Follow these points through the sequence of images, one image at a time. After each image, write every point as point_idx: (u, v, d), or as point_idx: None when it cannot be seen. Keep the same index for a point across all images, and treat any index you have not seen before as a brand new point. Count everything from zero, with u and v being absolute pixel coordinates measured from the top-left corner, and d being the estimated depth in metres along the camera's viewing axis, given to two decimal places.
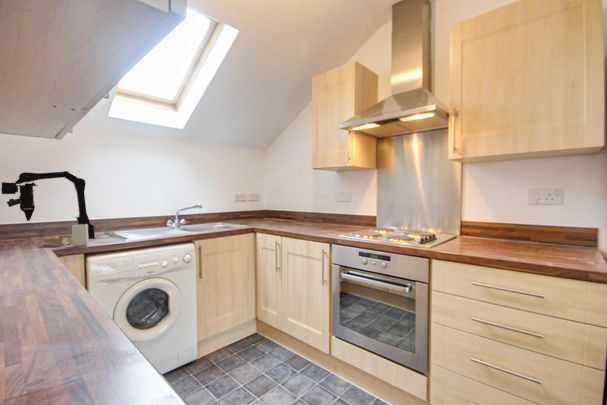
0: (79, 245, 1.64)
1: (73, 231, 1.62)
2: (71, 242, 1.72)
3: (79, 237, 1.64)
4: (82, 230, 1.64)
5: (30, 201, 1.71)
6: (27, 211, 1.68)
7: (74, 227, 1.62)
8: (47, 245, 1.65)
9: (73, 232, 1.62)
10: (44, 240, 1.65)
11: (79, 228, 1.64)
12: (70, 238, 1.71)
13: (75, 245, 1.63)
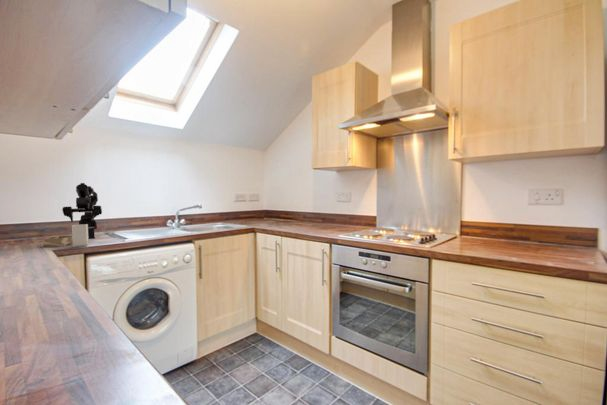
0: (79, 245, 1.64)
1: (73, 231, 1.62)
2: (71, 242, 1.72)
3: (79, 237, 1.64)
4: (82, 230, 1.64)
5: None
6: None
7: (74, 227, 1.62)
8: (47, 245, 1.65)
9: (73, 232, 1.62)
10: (44, 240, 1.65)
11: (79, 228, 1.64)
12: (70, 238, 1.71)
13: (75, 245, 1.63)
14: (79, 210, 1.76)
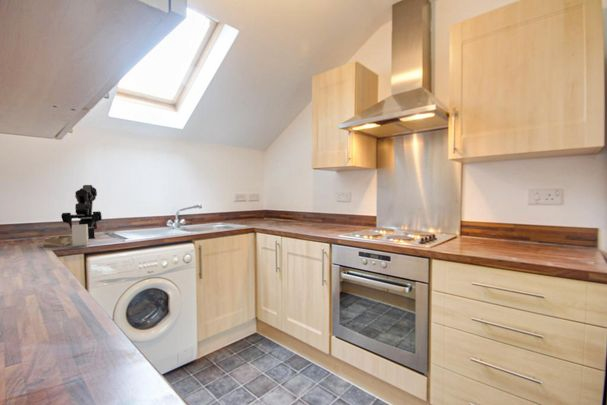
0: (79, 245, 1.64)
1: (73, 231, 1.62)
2: (71, 242, 1.72)
3: (79, 237, 1.64)
4: (82, 230, 1.64)
5: None
6: None
7: (74, 227, 1.62)
8: (47, 245, 1.65)
9: (73, 232, 1.62)
10: (44, 240, 1.65)
11: (79, 228, 1.64)
12: (70, 238, 1.71)
13: (75, 245, 1.63)
14: (78, 216, 1.73)
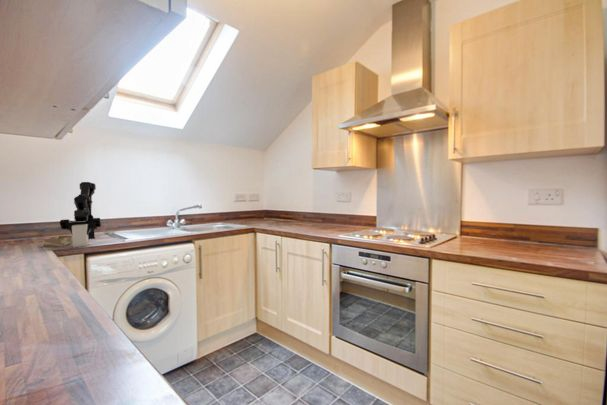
0: (79, 245, 1.64)
1: (73, 231, 1.62)
2: (71, 242, 1.72)
3: (79, 237, 1.64)
4: (82, 230, 1.64)
5: None
6: None
7: (74, 227, 1.62)
8: (47, 245, 1.65)
9: (73, 232, 1.62)
10: (44, 240, 1.65)
11: (79, 228, 1.64)
12: (70, 238, 1.71)
13: (75, 245, 1.63)
14: (80, 223, 1.69)
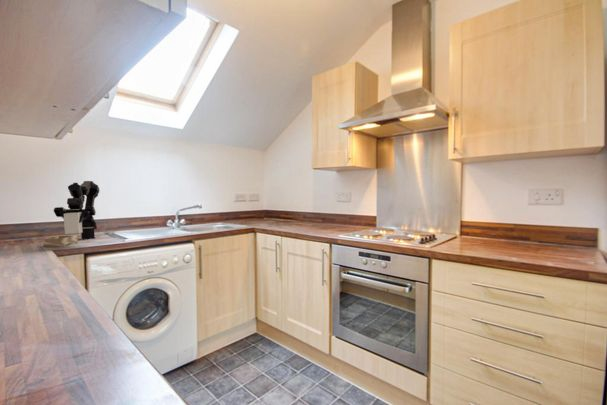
0: (71, 233, 1.64)
1: (65, 219, 1.62)
2: (71, 242, 1.72)
3: (71, 225, 1.64)
4: (74, 218, 1.64)
5: None
6: (83, 214, 1.70)
7: (66, 215, 1.62)
8: (47, 245, 1.65)
9: (65, 220, 1.62)
10: (44, 240, 1.65)
11: (71, 216, 1.63)
12: (70, 238, 1.71)
13: (67, 233, 1.63)
14: (74, 211, 1.70)
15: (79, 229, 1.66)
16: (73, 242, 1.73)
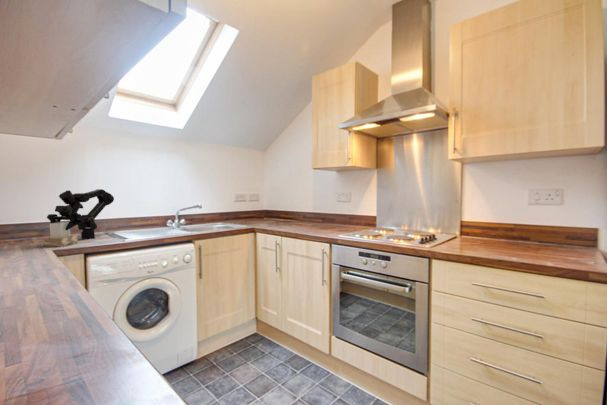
0: None
1: (50, 228, 1.67)
2: (71, 242, 1.72)
3: (55, 234, 1.67)
4: (57, 227, 1.67)
5: None
6: (72, 222, 1.73)
7: (51, 224, 1.67)
8: (47, 245, 1.65)
9: (51, 229, 1.67)
10: (44, 240, 1.65)
11: (55, 226, 1.67)
12: (70, 238, 1.71)
13: None
14: (62, 218, 1.74)
15: None
16: (73, 242, 1.73)
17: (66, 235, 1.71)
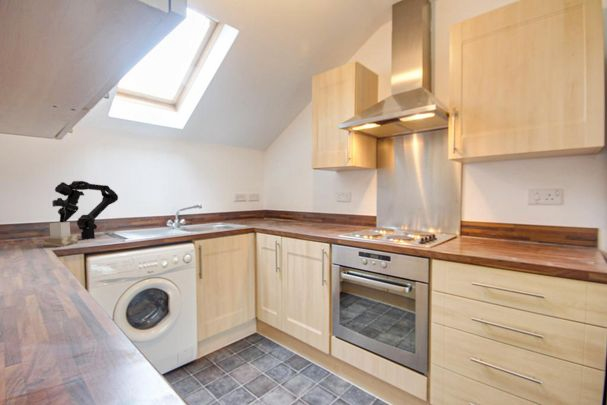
0: None
1: (50, 228, 1.67)
2: (71, 242, 1.72)
3: (55, 234, 1.67)
4: (57, 227, 1.67)
5: None
6: (68, 212, 1.75)
7: (51, 224, 1.67)
8: (47, 245, 1.65)
9: (51, 229, 1.67)
10: (44, 240, 1.65)
11: (55, 226, 1.67)
12: (70, 238, 1.71)
13: None
14: None
15: None
16: (73, 242, 1.73)
17: (66, 235, 1.71)
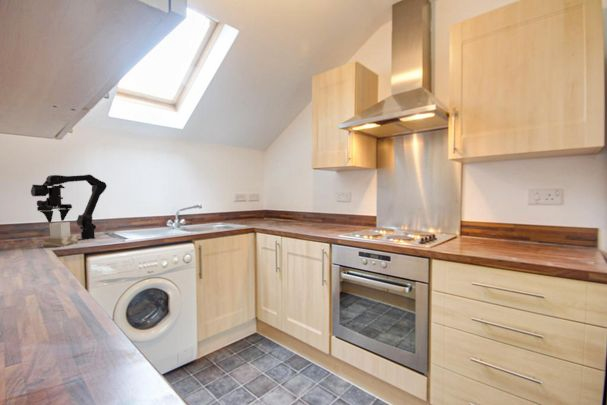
0: None
1: (50, 228, 1.67)
2: (71, 242, 1.72)
3: (55, 234, 1.67)
4: (57, 227, 1.67)
5: (54, 203, 1.74)
6: (47, 213, 1.71)
7: (51, 224, 1.67)
8: (47, 245, 1.65)
9: (51, 229, 1.67)
10: (44, 240, 1.65)
11: (55, 226, 1.67)
12: (70, 238, 1.71)
13: None
14: None
15: None
16: (73, 242, 1.73)
17: (66, 235, 1.71)
